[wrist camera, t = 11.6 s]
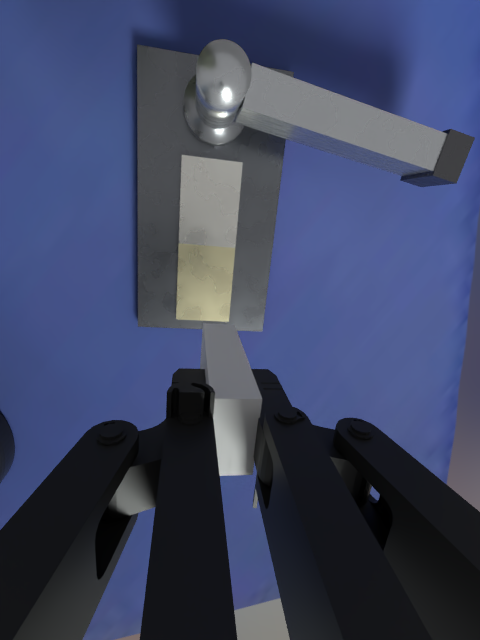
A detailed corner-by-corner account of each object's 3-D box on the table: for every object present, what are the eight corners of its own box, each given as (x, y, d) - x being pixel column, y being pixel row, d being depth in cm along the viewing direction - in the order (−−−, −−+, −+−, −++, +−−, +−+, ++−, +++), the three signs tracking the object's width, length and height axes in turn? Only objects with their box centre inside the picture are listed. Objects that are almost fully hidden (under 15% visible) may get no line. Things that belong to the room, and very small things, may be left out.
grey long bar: (191, 121, 24) (191, 95, 19) (200, 73, 24) (202, 30, 18) (407, 189, 28) (461, 184, 23) (422, 150, 28) (481, 134, 22)
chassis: (139, 322, 31) (136, 330, 29) (139, 50, 25) (134, 36, 23) (260, 328, 33) (264, 335, 31) (290, 76, 27) (298, 65, 25)
